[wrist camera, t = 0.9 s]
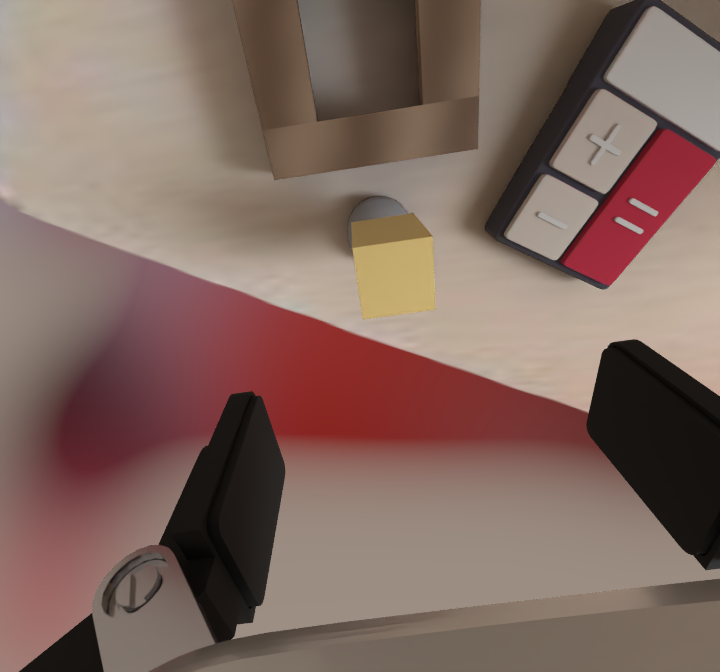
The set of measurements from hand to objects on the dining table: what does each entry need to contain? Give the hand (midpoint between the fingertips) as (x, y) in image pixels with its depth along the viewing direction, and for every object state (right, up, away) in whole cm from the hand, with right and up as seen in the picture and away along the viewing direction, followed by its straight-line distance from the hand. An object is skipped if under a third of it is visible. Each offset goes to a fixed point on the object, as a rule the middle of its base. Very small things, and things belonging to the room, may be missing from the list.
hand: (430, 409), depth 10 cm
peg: (0, +11, +19) cm, 22 cm away
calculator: (+16, +15, +18) cm, 28 cm away
